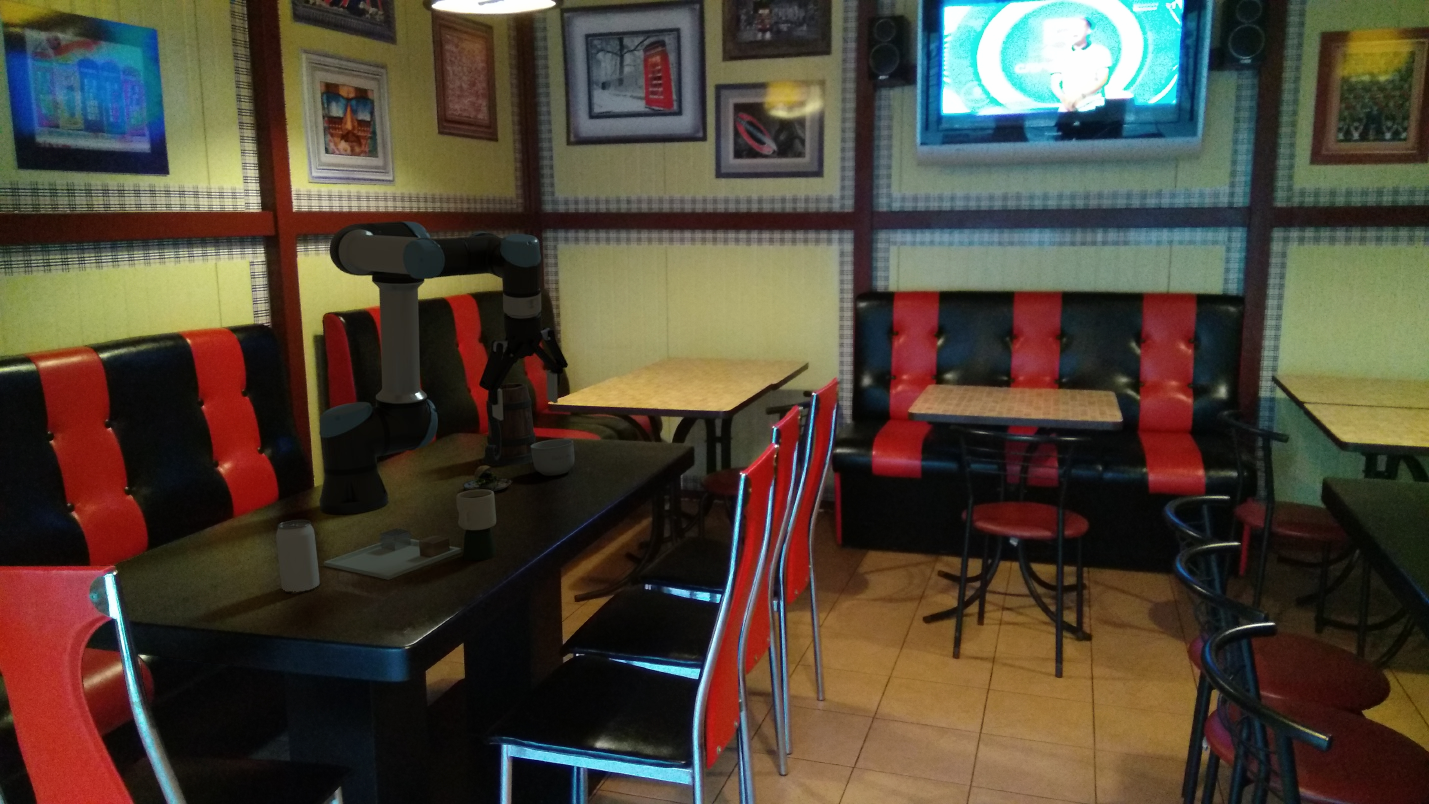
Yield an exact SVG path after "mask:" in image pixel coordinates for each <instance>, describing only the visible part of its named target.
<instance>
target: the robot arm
mask: <svg viewBox="0 0 1429 804" xmlns="http://www.w3.org/2000/svg"><path fill="white" fill-rule="evenodd" d="M540 248H541V247H540V241H539V239H538V238H537V237H536V236H534V235H531V234H525V233H513V234H512V233H510V234H507V235H505V236H504V237H500V236H499V235H496V234H494V233H493V232H486V231H476V232H473V233H472V234H470V235H468V236H462V237H461V236H460V237H458V236H456V237H444V238H443V237H440V238H438V237H437V238H434V237H431V236H430V234H429V233H428V230H427V229H426V228H425V227H424V226H423V225H421V224H420V223H418V222H416V221H406V220H405V221H403V220H397V221H396V220H394V221H382V222H380V221H379V222H368V223H367V222H366V223H365V222H360V223H358V222H357V223H353V224H348V225H346V226H345V227H342V228H340V229H339V230H338V231H337V232H336V233H335V234H334V235H333V237H332V238H331V241H330V243H329V256H330V259H331V261H332V263H333V264H334V266H335V267H336V268H337V269H338V270H339V271H340V272H343V273H344V274H348V275H351V276H357V277H358V276H359V277H364V276H365V277H366V276H368V277H370V276H371V282H372V283H373V284H374V285H375V286H376V287H377V288H378V289H379V290H378V291H379V295H378V296H379V324H380V326H379V329H380V353H381V355H380V357H381V358H380V359H381V386H382V387H381V390H380V391H379V392H378V393H377V394H376V395H375V406H372V404H371V403H370V402H368V401H367V402H366V401H357V402H353V403H344V404H341V405H337V406H334V407H331V408H328V409H327V410H325V411H324V412H323V413H322V414H321V415H320V418H319V436H320V444H321V445H320V446H321V453H322V461H323V462H322V463H323V471H324V478H323V484H322V488H321V491H320V492H321V493H320V497H319V500H318V501H319V511H320V512H321V513H324V514H330V515H350V514H358V513H365V512H370V511H374V510H378V509H380V508H383V507H384V506H386V505H387V504H389V494H388V491H387V489H386V486H385V484H384V481H383V480H382V478H381V475H380V474H379V473H380V472H379V470H378V462H377V460H378V459H377V458H378V457H384V456H388V455H392V454H396V453H397V454H398V453H402V452H410V451H415V450H417V449H421V448H424V447H427V446H429V445H430V443H431V442H433V440H434V439H435V437H436V434H437V430H438V423H439V421H438V413H437V412H436V406H435V404H434V403H433V402H432V401H431V400H430V399H428V395H427V393H426V392H425V391H423V389H421V372H420V369H421V368H420V365H421V364H420V363H421V362H420V328H419V327H420V325H419V321H420V319H419V317H420V316H419V288H420V287H421V286H422V285H423V284H424V283H425V280H430V279H435V278H445V277H446V278H447V277H456V276H457V277H458V276H459V277H461V276H471V275H482V274H483V275H484V274H490V275H492V276H496V277H498V278H500V279H502V280H501V281H502V307H503V308H502V309H503V313H504V314H503V328H504V333H505V338H504V340H502V341H501V340H499V341H498V340H495V339H493V340H492V341H491V343H490V344H491V346H490V347H491V348H490V354H489V356H488V359H487V361H486V364H485V367H484V369H483V372H482V375H481V377H480V381H479V384H478V386H479V387H480V388H482V389H484V390H486V391H487V393H488V392H489V402H490V404H492V411H493V417H495V418H497V419H499V420H503V399H502V390H501V389H499V387H500V386H501V385H503V382H504V381H505V379H506V377H507V376H508V375H509V372H510V370H511V369H512V368H513V367H514V364H516V363H517V362H518V361H519V360H521V359H525V358H526V357H533V356H534V354H535V355H536V356H537V357H538V358H539V359H540V360H541V361H542V363H544V365H545V366H547V368H548V369H549V370H546V399H547V401H549V402H551V403H553V404H558V403H559V402H558V401H559V400H558V398H559V397H558V387H559V386H560V385H561V377H560V376H561V375H562V374H563V373H564V369H567V368H568V367H569V364H568V362H567V360H566V357H565V356H564V353H563V352H562V350H561V348H560V346H559V344H558V342H557V340H556V335H555V334H556V333H555V330H553V329H551V328H549V327H547V326H545V327H543V317H542V315H543V314H542V313H541V311H542V272H541V271H542V267H541V266H542V265H541V263H542V255H541V252H540V251H541V249H540ZM543 340H544V342H545V344H546V346H547V347H548V351H549V352H550V353H551V355H552V357H550V355H549V354H548V353H547V352H546V351H545V349H543V347H542V346H541V345H540V344H541V342H542V341H543Z"/></svg>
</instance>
